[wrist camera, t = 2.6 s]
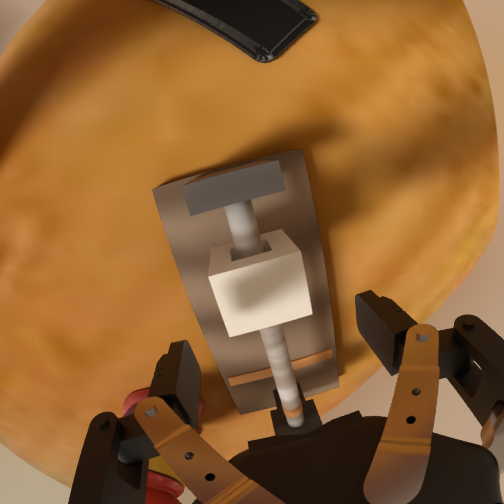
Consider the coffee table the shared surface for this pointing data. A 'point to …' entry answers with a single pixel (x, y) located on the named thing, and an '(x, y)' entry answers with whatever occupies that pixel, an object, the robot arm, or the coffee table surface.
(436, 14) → the coffee table surface
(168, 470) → the stacking bear
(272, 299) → the sleeve
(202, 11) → the phone
